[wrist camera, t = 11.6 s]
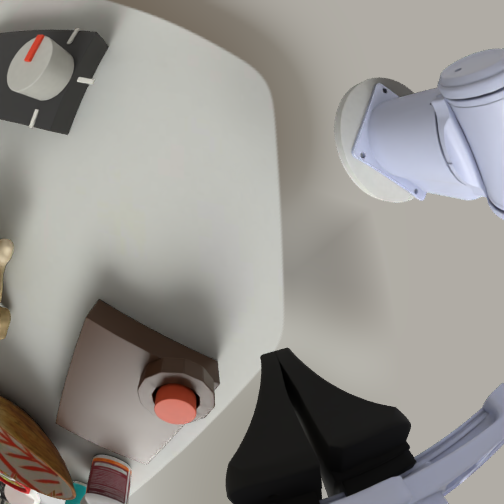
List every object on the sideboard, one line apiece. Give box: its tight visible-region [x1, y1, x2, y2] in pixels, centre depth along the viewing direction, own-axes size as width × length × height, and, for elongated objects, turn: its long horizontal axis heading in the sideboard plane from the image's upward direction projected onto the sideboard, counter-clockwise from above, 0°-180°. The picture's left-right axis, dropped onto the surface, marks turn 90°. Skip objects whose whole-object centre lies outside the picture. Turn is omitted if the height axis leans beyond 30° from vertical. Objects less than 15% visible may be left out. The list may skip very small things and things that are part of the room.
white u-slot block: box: [4, 484, 40, 504], centre depth 25 cm, size 10×18×10 cm, turn 152°
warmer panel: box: [0, 28, 108, 135], centre depth 12 cm, size 20×8×3 cm, turn 68°
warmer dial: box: [7, 35, 74, 100], centre depth 10 cm, size 4×4×4 cm
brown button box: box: [56, 299, 220, 465], centre depth 21 cm, size 12×19×5 cm, turn 146°
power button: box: [154, 383, 196, 424], centre depth 18 cm, size 3×3×2 cm
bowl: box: [0, 396, 76, 500], centre depth 19 cm, size 25×25×8 cm
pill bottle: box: [85, 455, 131, 504], centre depth 22 cm, size 6×6×11 cm
